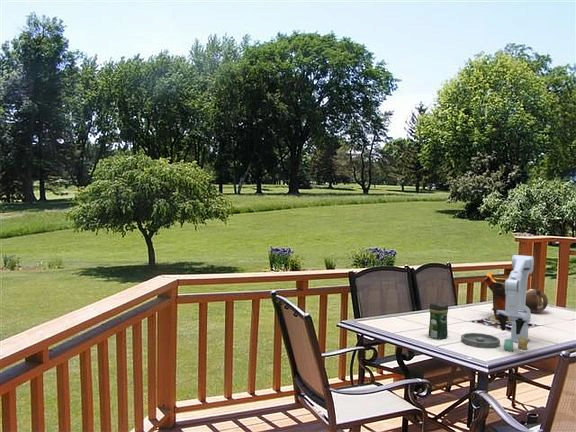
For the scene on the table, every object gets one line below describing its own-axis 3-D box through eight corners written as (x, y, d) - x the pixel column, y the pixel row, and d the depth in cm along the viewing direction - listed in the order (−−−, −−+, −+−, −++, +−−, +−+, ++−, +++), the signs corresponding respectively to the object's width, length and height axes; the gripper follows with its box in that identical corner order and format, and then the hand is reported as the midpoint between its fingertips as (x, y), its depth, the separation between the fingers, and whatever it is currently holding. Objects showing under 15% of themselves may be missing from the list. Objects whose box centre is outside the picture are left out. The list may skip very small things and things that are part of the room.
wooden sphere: (520, 308, 350) (521, 286, 349) (545, 311, 345) (546, 288, 344) (522, 313, 336) (523, 290, 335) (548, 316, 331) (550, 292, 330)
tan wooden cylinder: (519, 347, 264) (520, 337, 263) (528, 348, 261) (528, 338, 261) (516, 348, 261) (517, 338, 260) (525, 350, 258) (525, 340, 258)
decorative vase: (529, 324, 306) (528, 276, 305) (486, 324, 311) (486, 276, 310) (520, 316, 327) (520, 271, 326) (481, 316, 331) (480, 271, 330)
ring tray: (469, 335, 282) (469, 331, 282) (504, 342, 270) (504, 337, 270) (455, 342, 269) (455, 337, 268) (491, 350, 257) (491, 345, 257)
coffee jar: (437, 334, 284) (439, 299, 283) (449, 337, 278) (451, 302, 277) (425, 336, 279) (426, 301, 278) (437, 340, 272) (438, 304, 271)
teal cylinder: (505, 348, 260) (506, 338, 260) (514, 350, 258) (514, 340, 257) (502, 350, 257) (503, 340, 257) (511, 352, 255) (511, 342, 254)
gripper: (493, 302, 259) (492, 329, 260) (521, 308, 247) (520, 336, 248) (501, 300, 263) (500, 327, 264) (529, 306, 252) (528, 334, 252)
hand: (510, 332), depth 256 cm, fingers open, 7 cm apart
